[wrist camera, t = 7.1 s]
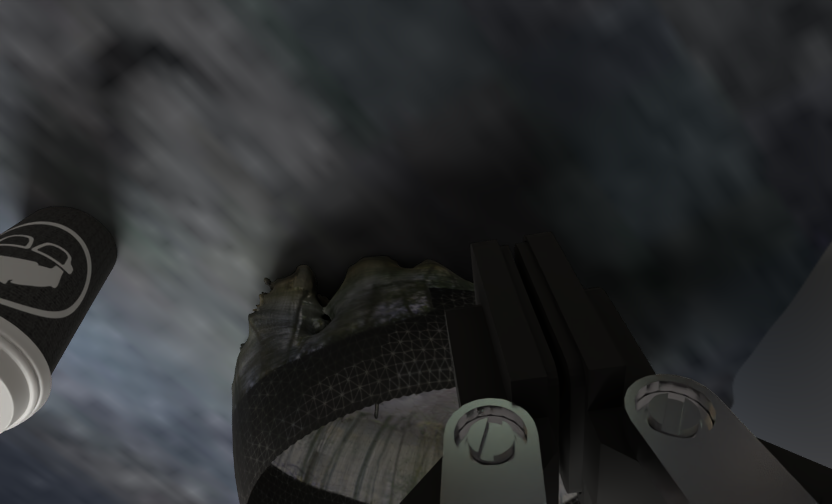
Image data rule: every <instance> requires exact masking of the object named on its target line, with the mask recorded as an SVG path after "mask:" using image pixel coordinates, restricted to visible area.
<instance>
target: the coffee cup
mask: <svg viewBox="0 0 832 504" xmlns="http://www.w3.org/2000/svg"><path fill="white" fill-rule="evenodd" d="M116 258H117V250H116V245H115V242H114V240H113V238H112V236H111V235H110V233H109V232H108V230H107V229H106V228H105V227H104V226H103V225H102V224H101V223H100V222H98V221H97V220H96V219H94V218H93V217H91V216H90V215H88V214H86V213H84V212H81V211H79V210H76V209H72V208H68V207H47V208H44V209H41V210H38V211H36V212H35V213H33V214H32V215H30V216H28V217H27V218H25V219H24V220H22V221H21V222H19V223H18V224H16V225H14V226H13V227H11V228H10V229H8V230H7V231H5V232H4V233H2V234H0V434H1V433H2V432H3V431H5V430H8V429H11V428H13V427H15V426H17V425H18V424H20V423H22V422H23V421H25V420H27V419H28V418H29V417H31V416H32V415H33V414H34V413H36V412H37V411H38V410H39V409H40V408H41V407H42V406H43V405H44V404H45V402H46V401H47V399H48V397H49V394H50V391H51V383H52V382H51V375H52V373H53V371H54V369H55V367H56V366H57V364H58V362H59V360H60V359H61V357H62V355H63V353H64V352H65V350H66V348H67V346H68V345H69V343H70V341H71V339H72V338H73V336H74V334H75V332H76V331H77V329H78V327H79V326H80V324H81V322H82V320H83V319H84V317H85V315H86V313H87V312H88V310H89V308H90V307H91V305H92V303H93V301H94V300H95V298H96V296H97V294H98V293H99V291H100V289H101V288H102V286H103V284H104V282H105V281H106V279H107V277H108V276H109V274H110V272H111V270H112V269H113V267H114V265H115V262H116Z"/></svg>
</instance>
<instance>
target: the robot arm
mask: <svg viewBox="0 0 832 504" xmlns="http://www.w3.org/2000/svg"><path fill="white" fill-rule="evenodd" d="M470 250H471V261H472V271H473V282H474V292H475V302H476V305H471V306H464V307H457V308H450V309H444V311H445V319H446V326H447V333H448V341H449V348H450V354H451V361H452V368H453V374H454V380H455V386H456V392H457V398H458V404H459V409H458V410H457V411H455V412H454V413H453V414H452V416H451V417H450V419H449V420H448V422H447V424H446V428H445V432H444V441H443V456H442V457H441V458H440V459H439V461H438V462H437V463H436V464H435V465H434V466H433V467H432V468H431V469H430V470H429V471H428V473H427V474H426V475H425V476H424V477H423V478H422V479H421V480H420V481H419V482H418V484H417V485H416V486H415V487H414V488H413V489H412V490H411V491H410V492H409V493H408V495H407V496H406V497H405V498H404V499H403V500H402V501H401V502H400V503H399V504H559V473H560V476H561V479H562V482H563V485H564V488H565V490H566V492H567V493H568V494H570V493H577V495H578V498H579V501H580V504H832V469H830V468H828V467H826V466H823V465H821V464H818V463H816V462H813V461H811V460H809V459H806V458H804V457H802V456H799V455H797V454H795V453H792V452H790V451H788V450H785V449H783V448H780V447H778V446H776V445H773V444H771V443H768V442H766V441H764V440H761V439H759V438H757V437H755V436H754V435H753V434H752V433H751V432H750V430H749V429H747V427H746V426H745V425H744V424H743V423H742V422H741V421H740V420H739V419H738V418H737V417H736V416H735V415H734V414H733V412H732V411H731V410H730V409H729V408H728V407H727V406H726V405H725V404H724V403H723V402H722V401H721V400H720V399H719V398H718V397H717V396H716V395H715V394H714V393H713V392H711V391H710V390H709V389H708V388H707V387H705V386H703V385H701V384H699V383H697V382H696V381H694V380H692V379H688V378H685V377H681V376H678V375H669V374H657V375H656V374H655V372H654V370H653V369H652V367H651V366H650V364H649V362H648V361H647V359H646V357H645V356H644V354H643V352H642V351H641V349H640V348H639V346H638V344H637V343H636V341H635V339H634V338H633V336H632V335H631V333H630V331H629V330H628V328H627V326H626V325H625V323H624V322H623V320H622V318H621V317H620V315H619V313H618V312H617V310H616V308H615V307H614V305H613V304H612V302H611V300H610V299H609V297H608V295H607V294H606V292H605V291H604V290H603V289H602V288H600V287H596V288H589V289H583V287H582V285H581V284H580V282H579V280H578V278H577V276H576V275H575V273H574V271H573V269H572V268H571V266H570V264H569V262H568V260H567V259H566V257H565V255H564V253H563V251H562V250H561V248H560V246H559V244H558V242H557V241H556V239H555V237H554V235H553V234H552V232H545V233H538V234H531V235H524V237H523V243H517V244H515V247H514V251H515V262H514V259H513V257H512V254H511V252H510V249H509V247H508V245H503V246H499V244H498V242H497V240H490V241H483V242H477V243H471V244H470Z"/></svg>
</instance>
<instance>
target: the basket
mask: <svg viewBox="0 0 832 504" xmlns="http://www.w3.org/2000/svg"><path fill="white" fill-rule="evenodd" d="M264 282H265V284H267V285H269V286H270V288H271V290H272V291H270V293H266V292H265V293H263V292H262V294H260V295H259V297H260V305H256V306H257V307H258V308H257V309H253V311H255V312H254V313H251V314H249V316H248V320H249V337H248V339H247V341H246V343H243V344H241V347H240V353H239V356H238V359H237V363H236V368H235V375H234V381H233V384H232V433H233V457H234V469H235V478H236V485H237V491H238V496H239V502H240V504H399V503H400V502H401V501H402V500H403V499H404V498H405V497H406V496H407V495H408V493H409V492H410V491H411V490H412V489H413V488H414V487H415V486H416V485H417V484H418V482H419V481H420V480H421V479H422V478H423V477H424V476H425V475H426V474H427V473H428V471H429V470H430V469H431V468H432V467H433V466H434V465H435V464H436V463H437V462H438V461H439V459H440V458H441V457H442V456H443V441H444V432H445V428H446V424H447V422H448V420H449V419H450V417H451V416H452V414H453V413H454V412H455V411H457V410H458V409H459V404H458V398H457V392H456V386H455V380H454V374H453V368H452V361H451V354H450V348H449V341H448V333H447V326H446V319H445V311H444V309H450V308H457V307H464V306H471V305H476V302H475V292H474V283H471V282H469V281H467V280H465V279H463V278H461V277H459V276H458V275H456V274H455V273H453V272H452V271H450V270H449V269H448V268H446V267H444V266H443V265H441V264H439V263H437V262H435V261H433V260H430V259H426V260H424V261H423V262H422V263H420V264H418V265H416V266H415V267H414V268H402V267H400V266H398V263H397V261H396V260H391V259H390V258H389V257H388V256H373V257H364V258H362V259H361V260H360V261H358V262H357V263H356V264H354V265H353V266H350V267H349V269H348V271H347V275H346V278H345V280H344V282H343V284H342V285H341V287H340V288H339V290H338V291H337V292H336V294H335V295H334V296H333V298H332V299H331V300H328V299H327V297H325V296H324V297H322V296H321V295H320V294H318V295H317V292H316V289H317V280H316V277H315V275H314V273H313V271H312V270H311V269H310V268H309V266H307V265H300V266H298V267H297V270H296V272H295V273H294V274H292V275H291V276H287V277H286V278H283V279H282V278H279V279H277V280H276V281H274V282H271V280H270V279H268V278H264ZM559 504H580V501H579V498H578V495H577V493H570V494H568V493H567V492H566V490H565V488H564V485H563V482H562V479H561V476H560V473H559Z"/></svg>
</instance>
